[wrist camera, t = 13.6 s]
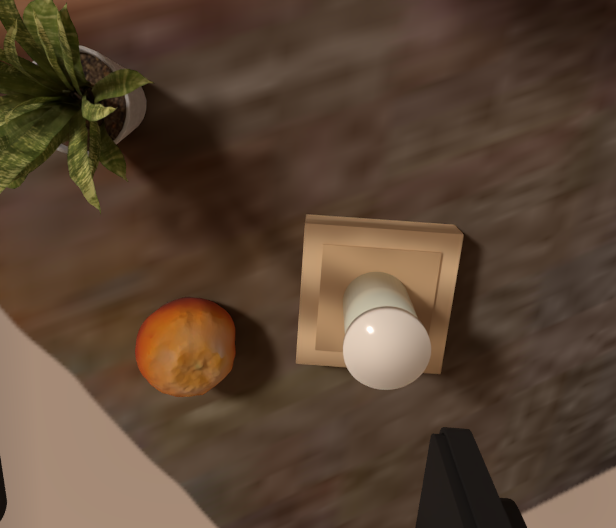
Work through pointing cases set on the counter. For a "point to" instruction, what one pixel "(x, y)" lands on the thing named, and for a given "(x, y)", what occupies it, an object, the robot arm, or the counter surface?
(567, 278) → the counter surface
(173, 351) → the fruit
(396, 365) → the canister
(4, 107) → the house plant
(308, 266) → the base
